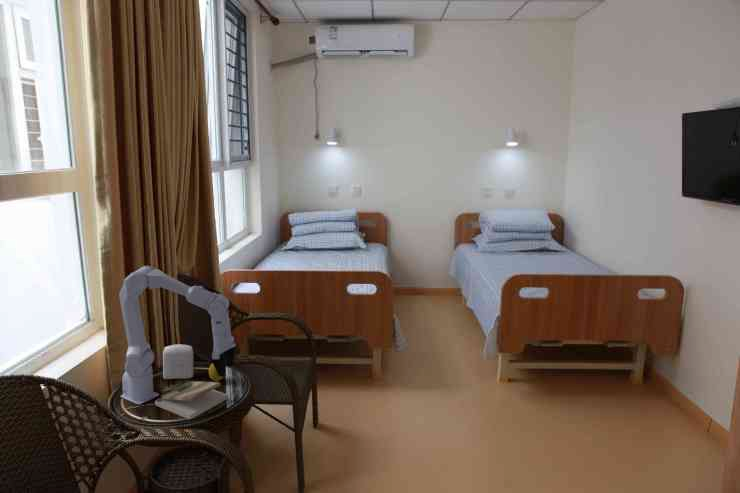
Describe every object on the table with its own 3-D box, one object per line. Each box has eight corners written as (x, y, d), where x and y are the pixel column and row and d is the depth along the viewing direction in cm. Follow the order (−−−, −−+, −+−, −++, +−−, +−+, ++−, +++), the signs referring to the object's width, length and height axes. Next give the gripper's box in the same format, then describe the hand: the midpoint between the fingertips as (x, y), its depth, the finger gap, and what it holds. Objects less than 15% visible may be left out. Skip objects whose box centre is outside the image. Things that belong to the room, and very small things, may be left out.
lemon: (220, 386, 178) (220, 365, 176) (206, 384, 179) (205, 363, 177) (227, 379, 183) (227, 358, 182) (213, 377, 184) (213, 356, 183)
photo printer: (194, 373, 187) (193, 342, 184) (192, 378, 182) (192, 346, 180) (164, 375, 184) (163, 343, 182) (162, 380, 180) (161, 347, 178)
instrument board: (161, 398, 164) (159, 391, 164) (191, 384, 175) (190, 376, 174) (190, 400, 157) (189, 392, 157) (220, 385, 168) (219, 377, 167)
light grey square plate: (155, 405, 163) (154, 398, 163) (193, 386, 177) (193, 380, 176) (190, 419, 156) (190, 412, 155) (227, 398, 169) (227, 392, 169)
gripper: (225, 340, 158) (230, 380, 160) (240, 324, 172) (244, 361, 174) (204, 340, 158) (208, 380, 161) (220, 324, 172) (224, 361, 175)
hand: (226, 370), depth 168 cm, fingers open, 7 cm apart
